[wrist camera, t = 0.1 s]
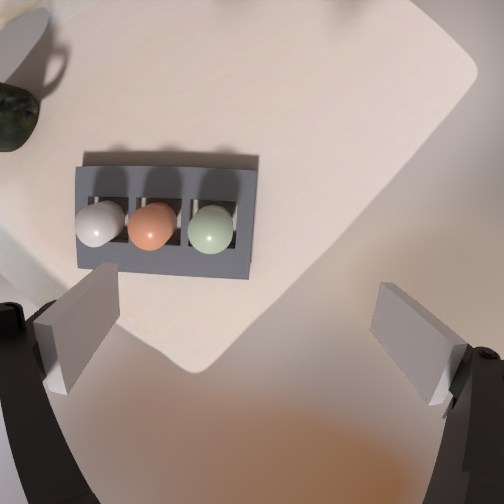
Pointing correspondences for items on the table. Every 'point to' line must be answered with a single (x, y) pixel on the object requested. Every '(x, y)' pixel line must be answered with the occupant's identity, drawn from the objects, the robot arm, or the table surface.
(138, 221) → the terracotta button
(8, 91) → the mug
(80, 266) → the button board
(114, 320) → the robot arm
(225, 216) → the sage button
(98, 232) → the grey button
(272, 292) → the table surface
